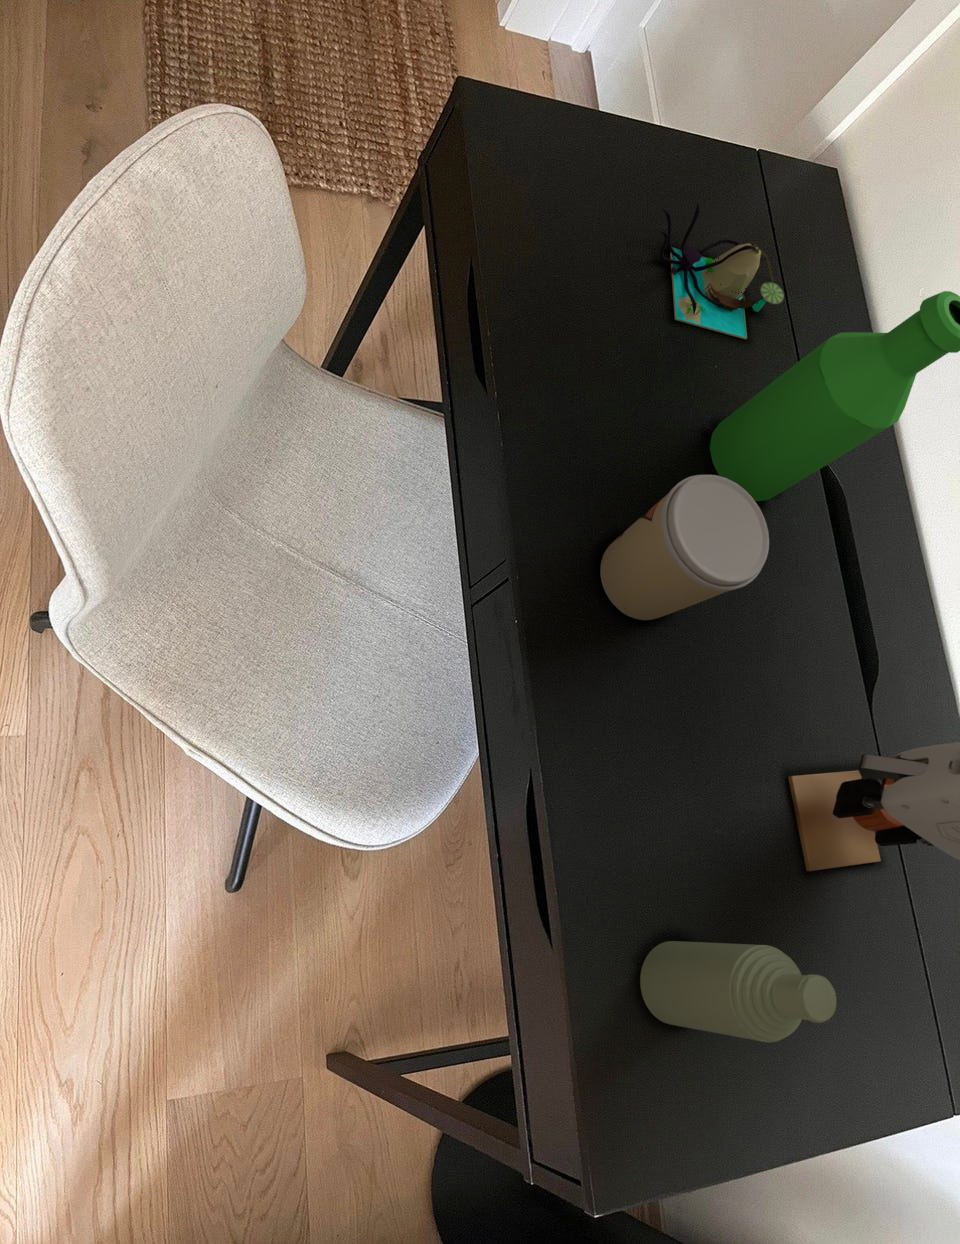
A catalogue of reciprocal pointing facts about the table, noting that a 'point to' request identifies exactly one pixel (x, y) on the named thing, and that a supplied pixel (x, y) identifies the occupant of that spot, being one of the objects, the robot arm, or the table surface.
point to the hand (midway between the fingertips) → (861, 814)
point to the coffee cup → (686, 549)
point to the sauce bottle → (733, 989)
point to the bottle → (831, 400)
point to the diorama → (716, 284)
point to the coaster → (829, 824)
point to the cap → (877, 820)
